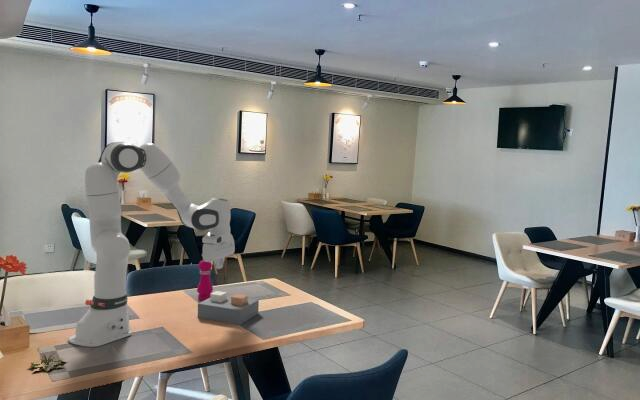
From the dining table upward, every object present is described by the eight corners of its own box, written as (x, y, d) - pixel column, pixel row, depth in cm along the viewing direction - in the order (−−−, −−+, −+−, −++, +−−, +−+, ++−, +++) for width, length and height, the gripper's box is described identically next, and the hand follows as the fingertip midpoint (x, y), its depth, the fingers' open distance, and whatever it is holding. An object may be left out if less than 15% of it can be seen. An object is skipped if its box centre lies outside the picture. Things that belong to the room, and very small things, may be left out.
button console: (240, 324, 207) (240, 310, 206) (197, 317, 213) (197, 303, 213) (258, 313, 222) (258, 299, 221) (218, 306, 228) (218, 293, 228)
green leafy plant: (25, 363, 165) (25, 349, 165) (67, 357, 171) (66, 343, 171) (26, 378, 155) (25, 364, 154) (70, 371, 161) (70, 357, 160)
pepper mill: (210, 301, 236) (211, 258, 234) (195, 300, 236) (195, 257, 234) (214, 296, 244) (214, 255, 242) (199, 296, 244) (199, 254, 242)
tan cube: (241, 310, 212) (241, 298, 212) (230, 308, 214) (231, 297, 213) (247, 307, 217) (247, 295, 216) (236, 305, 219) (237, 293, 218)
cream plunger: (220, 307, 216) (220, 295, 215) (210, 305, 217) (210, 293, 217) (226, 303, 220) (226, 292, 220) (216, 302, 222) (216, 290, 222)
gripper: (225, 231, 227) (225, 262, 228) (199, 239, 208) (199, 272, 209) (238, 233, 225) (238, 263, 226) (213, 240, 205) (213, 274, 207)
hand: (219, 268), depth 217 cm, fingers closed
